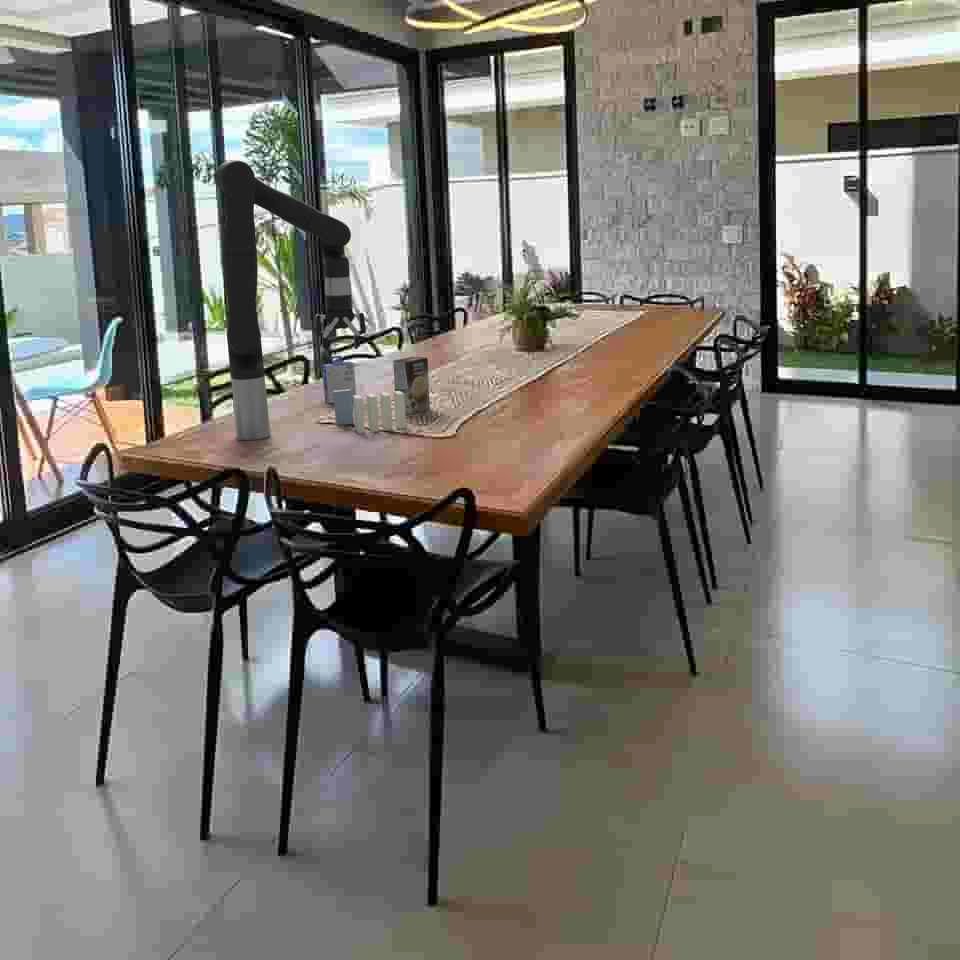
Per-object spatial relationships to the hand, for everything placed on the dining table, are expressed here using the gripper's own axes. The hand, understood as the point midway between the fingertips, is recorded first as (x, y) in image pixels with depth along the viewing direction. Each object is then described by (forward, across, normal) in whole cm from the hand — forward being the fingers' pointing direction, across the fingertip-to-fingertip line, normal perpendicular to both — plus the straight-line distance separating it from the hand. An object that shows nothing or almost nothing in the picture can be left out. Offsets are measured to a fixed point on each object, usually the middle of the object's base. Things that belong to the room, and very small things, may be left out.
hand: (341, 349), depth 317 cm
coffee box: (+22, +22, +9) cm, 33 cm away
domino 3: (+22, +10, -11) cm, 27 cm away
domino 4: (+22, +14, -11) cm, 28 cm away
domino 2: (+22, +6, -12) cm, 26 cm away
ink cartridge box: (+22, +4, +36) cm, 43 cm away
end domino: (+22, 0, 0) cm, 22 cm away
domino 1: (+22, +2, -12) cm, 25 cm away
